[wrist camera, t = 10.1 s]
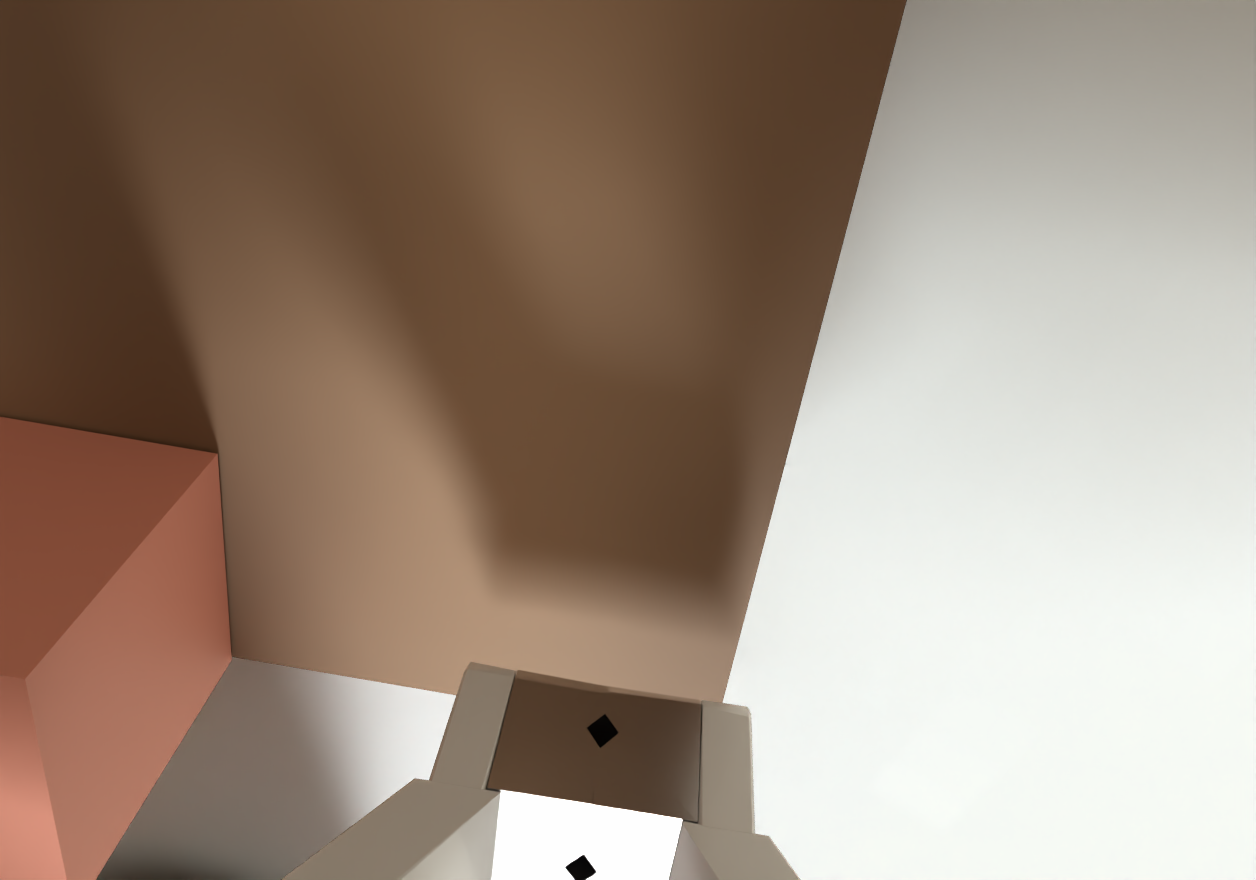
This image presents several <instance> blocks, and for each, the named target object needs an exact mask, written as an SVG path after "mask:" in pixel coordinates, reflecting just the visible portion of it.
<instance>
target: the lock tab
mask: <svg viewBox="0 0 1256 880" xmlns="http://www.w3.org/2000/svg"><path fill="white" fill-rule="evenodd" d="M231 660H232V655H231V640H230V626H229V611H228V597H227V582H226V568H225V553H224V539H223V524H222V510H221V495H220V481H219V466H218V454H216V453H211V452H205V451H199V450H193V449H187V448H181V447H175V446H169V445H164V444H158V443H152V442H146V441H140V440H134V439H128V438H123V437H117V436H111V435H105V434H99V433H93V432H87V431H81V430H76V429H70V428H64V427H58V426H52V425H46V424H40V423H35V422H29V421H23V420H17V419H11V418H5V417H0V880H96V879H97V877H98V875H99V874H100V872H101V871H102V869H103V867H104V866H105V864H106V862H107V861H108V859H109V858H110V856H111V854H112V853H113V851H114V850H115V848H116V846H117V845H118V843H119V841H120V840H121V838H122V837H123V835H124V833H125V832H126V830H127V829H128V827H129V825H130V824H131V822H132V820H133V819H134V817H135V816H136V814H137V812H138V811H139V809H140V808H141V806H142V804H143V803H144V801H145V799H146V798H147V796H148V795H149V793H150V791H151V790H152V788H153V786H154V785H155V783H156V782H157V780H158V778H159V777H160V775H161V774H162V772H163V770H164V769H165V767H166V765H167V764H168V762H169V761H170V759H171V757H172V756H173V754H174V753H175V751H176V749H177V748H178V746H179V744H180V743H181V741H182V740H183V738H184V736H185V735H186V733H187V732H188V730H189V728H190V727H191V725H192V723H193V722H194V720H195V719H196V717H197V715H198V714H199V712H200V711H201V709H202V707H203V706H204V704H205V702H206V701H207V699H208V698H209V696H210V694H211V693H212V691H213V689H214V688H215V686H216V685H217V683H218V681H219V680H220V678H221V677H222V675H223V673H224V672H225V670H226V668H227V667H228V665H229V664H230V662H231Z"/></svg>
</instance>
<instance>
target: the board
mask: <svg viewBox="0 0 1256 880" xmlns="http://www.w3.org/2000/svg"><path fill="white" fill-rule="evenodd" d="M906 1H907V0H0V417H5V418H11V419H17V420H23V421H29V422H35V423H40V424H46V425H52V426H58V427H64V428H70V429H76V430H81V431H87V432H93V433H99V434H105V435H111V436H117V437H123V438H128V439H134V440H140V441H146V442H152V443H158V444H164V445H169V446H175V447H181V448H187V449H193V450H199V451H205V452H211V453H216V454H218V466H219V481H220V495H221V510H222V524H223V539H224V553H225V568H226V582H227V597H228V611H229V626H230V640H231V655H232V657H236V658H242V659H248V660H254V661H260V662H265V663H271V664H277V665H283V666H289V667H295V668H301V669H306V670H312V671H318V672H324V673H330V674H336V675H341V676H347V677H353V678H359V679H365V680H371V681H377V682H382V683H388V684H394V685H400V686H406V687H412V688H417V689H423V690H429V691H435V692H441V693H447V694H453V695H457V692H458V689H459V686H460V683H461V680H462V677H463V674H464V671H465V670H466V668H467V667H468V665H469V663H470V662H475V663H480V664H485V665H490V666H495V667H500V668H505V669H510V670H515V671H518V670H523V671H528V672H533V673H539V674H544V675H549V676H555V677H560V678H565V679H571V680H576V681H581V682H587V683H592V684H597V685H603V686H611V687H618V688H624V689H631V690H637V691H644V692H650V693H657V694H663V695H670V696H676V697H683V698H689V699H696V700H699V701H700V702H701V700H705V701H712V702H719V703H722V702H723V698H724V694H725V690H726V687H727V683H728V679H729V675H730V671H731V668H732V664H733V660H734V656H735V652H736V649H737V645H738V641H739V637H740V633H741V630H742V626H743V622H744V618H745V614H746V610H747V607H748V603H749V599H750V595H751V591H752V588H753V584H754V580H755V576H756V572H757V569H758V565H759V561H760V557H761V553H762V549H763V546H764V542H765V538H766V534H767V530H768V527H769V523H770V519H771V515H772V511H773V508H774V504H775V500H776V496H777V492H778V489H779V485H780V481H781V477H782V473H783V469H784V466H785V462H786V458H787V454H788V450H789V447H790V443H791V439H792V435H793V431H794V428H795V424H796V420H797V416H798V412H799V409H800V405H801V401H802V397H803V393H804V389H805V386H806V382H807V378H808V374H809V370H810V367H811V363H812V359H813V355H814V351H815V348H816V344H817V340H818V336H819V332H820V328H821V325H822V321H823V317H824V313H825V309H826V306H827V302H828V298H829V294H830V290H831V287H832V283H833V279H834V275H835V271H836V268H837V264H838V260H839V256H840V252H841V248H842V245H843V241H844V237H845V233H846V229H847V226H848V222H849V218H850V214H851V210H852V207H853V203H854V199H855V195H856V191H857V187H858V184H859V180H860V176H861V172H862V168H863V165H864V161H865V157H866V153H867V149H868V146H869V142H870V138H871V134H872V130H873V127H874V123H875V119H876V115H877V111H878V107H879V104H880V100H881V96H882V92H883V88H884V85H885V81H886V77H887V73H888V69H889V66H890V62H891V58H892V54H893V50H894V47H895V43H896V39H897V35H898V31H899V27H900V24H901V20H902V16H903V12H904V8H905V5H906Z"/></svg>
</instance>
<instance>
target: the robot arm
mask: <svg viewBox="0 0 1256 880" xmlns="http://www.w3.org/2000/svg"><path fill="white" fill-rule="evenodd" d="M281 880H800V878H799V877H798V876H797V874H796V873H795V871H794V870H793V869H792V867H791V866H790V864H789V863H788V862H787V860H786V859H785V858H784V856H783V855H782V853H781V852H780V851H779V849H778V848H777V846H776V845H775V844H774V842H773V841H772V839H771V838H770V837H769V836H765V835H760V834H755V820H754V789H753V758H752V727H751V713H750V711H749V709H748V707H746V706H739V705H732V704H725V703H719V702H712V701H705V700H701V702H700V701H699V700H696V699H689V698H683V697H676V696H670V695H663V694H657V693H650V692H644V691H637V690H631V689H624V688H618V687H611V686H603V685H597V684H592V683H587V682H581V681H576V680H571V679H565V678H560V677H555V676H549V675H544V674H539V673H533V672H528V671H523V670H518V671H515V670H510V669H505V668H500V667H495V666H490V665H485V664H480V663H475V662H470V663H469V665H468V667H467V668H466V670H465V671H464V674H463V677H462V680H461V683H460V686H459V689H458V692H457V695H456V698H455V701H454V705H453V708H452V711H451V714H450V717H449V720H448V723H447V726H446V729H445V732H444V735H443V739H442V742H441V745H440V748H439V751H438V754H437V757H436V760H435V763H434V766H433V770H432V773H431V776H430V779H429V780H422V779H413V780H412V781H411V782H409V783H408V784H407V785H405V786H404V787H403V788H401V789H400V790H399V791H398V792H396V793H395V794H394V795H392V796H391V797H390V798H388V799H387V800H386V801H384V802H383V803H382V804H380V805H379V806H378V807H376V808H375V809H374V810H372V811H371V812H370V813H368V814H367V815H366V816H364V817H363V818H362V819H360V820H359V821H358V822H357V823H355V824H354V825H353V826H351V827H350V828H349V829H347V830H346V831H345V832H343V833H342V834H341V835H339V836H338V837H337V838H335V839H334V840H333V841H331V842H330V843H329V844H327V845H326V846H325V847H323V848H322V849H321V850H320V851H318V852H317V853H316V854H314V855H313V856H312V857H310V858H309V859H308V860H306V861H305V862H304V863H302V864H301V865H300V866H298V867H297V868H296V869H294V870H293V871H292V872H290V873H289V874H288V875H286V876H285V877H284V878H282V879H281Z"/></svg>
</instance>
